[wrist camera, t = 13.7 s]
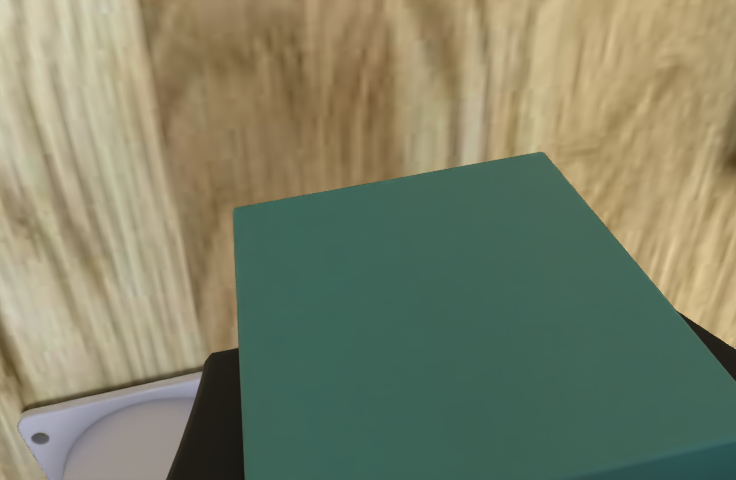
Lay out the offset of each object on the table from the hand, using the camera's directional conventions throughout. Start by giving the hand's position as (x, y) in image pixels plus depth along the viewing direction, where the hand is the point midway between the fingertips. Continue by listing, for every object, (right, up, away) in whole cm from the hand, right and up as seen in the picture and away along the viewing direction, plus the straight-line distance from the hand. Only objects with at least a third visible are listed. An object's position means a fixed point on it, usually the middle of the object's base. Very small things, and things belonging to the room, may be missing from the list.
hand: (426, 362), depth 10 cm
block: (0, +1, +1) cm, 1 cm away
